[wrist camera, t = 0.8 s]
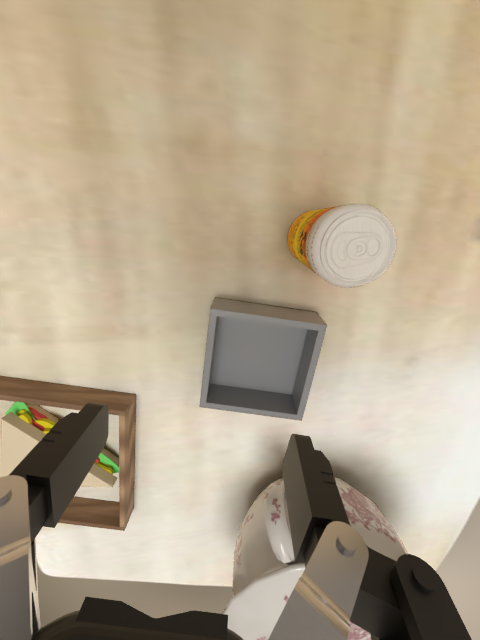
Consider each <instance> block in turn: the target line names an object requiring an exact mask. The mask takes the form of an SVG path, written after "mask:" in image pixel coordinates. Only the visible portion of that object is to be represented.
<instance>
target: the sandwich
mask: <svg viewBox="0 0 480 640" xmlns="http://www.w3.org/2000/svg"><path fill="white" fill-rule="evenodd" d="M59 420H60V419H58V418H57V417H55V416H53V415H52V414H50V413H49V412H47V411H46V410H44V409H43V408H41V407H40V406H38V405H37V404H30V403H27V404H25V403H22V402H15V403H14V404H13V406H12V407H11V408H10V409H9V410H8V411H7V412H6V414H5V416H4V417H3V418H2V419H1V442H0V477H4V476H8V475H9V474H10V473H11V472H12V471H13V470H14V469H15V468H16V467H17V465H18V464H19V463H20V462H21V461H22V460H23V459H24V458H25V457H26V456H27V455H28V453H29V452H30V451H31V450H32V449H33V448H34V447H35V446H36V445H37V444H38V443H39V441H41V440H42V438H43V437H44V436H45V435H46V434H47V433H49V431H50V430H51V428H52V427H53V426H54V425H55V424H56V423H57V422H58V421H59ZM117 472H119V458H118V457H117V456H115V455H113V454H112V453H110V452H109V451H107V450H106V449H104V448H103V450H102V451H101V453H100V455H99V456H98V458H97V459H96V461H95V463H94V464H93V466H92V468H91V469H90V471H89V472H88V474H87V476H86V477H85V479H84V481H83V482H82V484H81V485H80V486H86V487H113V485H114V483H115V481H116V479H117V477H115V476H113V473H117Z"/></svg>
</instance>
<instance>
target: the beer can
mask: <svg viewBox="0 0 480 640" xmlns="http://www.w3.org/2000/svg"><path fill="white" fill-rule="evenodd" d="M288 246H289V249H290V251H291V253H292V254H293V256H294V257H295V258H296V259H298V260H299V261H300V262H302V263H303V264H304V265H306V266H307V267H308V268H310V269H311V270H312V271H313V272H315V273H316V274H317V275H319V276H320V277H321V278H323V279H324V280H325V281H327V282H328V283H330V284H332V285H335V286H338V287H344V288H352V287H357V286H361V285H364V284H366V283H369V282H371V281H373V280H375V279H376V278H378V277H379V276H380V275H381V274H383V273H384V272H385V270H386V269H387V268H388V267H389V265H390V263H391V262H392V260H393V257H394V255H395V251H396V234H395V230H394V228H393V226H392V224H391V223H390V221H389V219H388V218H387V217H386V216H385V215H384V214H383V213H382V212H381V211H380V210H379V209H377V208H375V207H373V206H370V205H366V204H350V205H344V206H338V207H332V208H325V209H319V210H313V211H308V212H306V213H303V214H302V215H300V216H299V217H298V218H297V219H296V220H295V221H294V222H293V223H292V225H291V227H290V229H289V233H288Z"/></svg>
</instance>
